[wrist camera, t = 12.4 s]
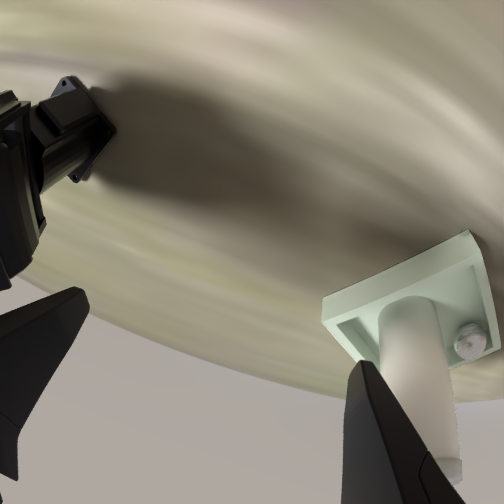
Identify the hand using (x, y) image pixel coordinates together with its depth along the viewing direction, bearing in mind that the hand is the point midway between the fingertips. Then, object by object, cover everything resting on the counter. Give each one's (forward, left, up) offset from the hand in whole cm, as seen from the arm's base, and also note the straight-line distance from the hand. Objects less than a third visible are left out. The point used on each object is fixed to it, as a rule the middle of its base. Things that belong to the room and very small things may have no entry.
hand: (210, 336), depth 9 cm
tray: (+3, -17, -13) cm, 22 cm away
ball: (+6, -20, -12) cm, 25 cm away
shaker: (+2, -16, -12) cm, 20 cm away
